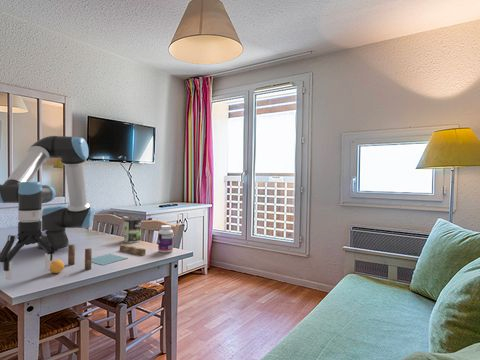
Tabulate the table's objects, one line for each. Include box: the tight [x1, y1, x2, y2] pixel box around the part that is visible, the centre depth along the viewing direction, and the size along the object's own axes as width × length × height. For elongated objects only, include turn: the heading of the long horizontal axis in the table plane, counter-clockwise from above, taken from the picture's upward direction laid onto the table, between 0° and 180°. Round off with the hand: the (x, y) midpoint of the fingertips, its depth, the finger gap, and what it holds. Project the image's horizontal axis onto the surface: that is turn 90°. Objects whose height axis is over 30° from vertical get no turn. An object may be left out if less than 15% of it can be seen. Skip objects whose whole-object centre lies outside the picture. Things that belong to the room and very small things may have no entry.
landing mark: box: [91, 253, 128, 266], centre depth 146 cm, size 14×14×1 cm
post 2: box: [84, 247, 93, 271], centre depth 131 cm, size 3×3×9 cm
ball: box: [49, 259, 65, 274], centre depth 125 cm, size 6×6×6 cm
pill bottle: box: [157, 224, 174, 254], centre depth 164 cm, size 8×8×14 cm
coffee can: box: [123, 217, 142, 244], centre depth 187 cm, size 10×10×14 cm
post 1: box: [67, 244, 76, 266], centre depth 137 cm, size 3×3×9 cm
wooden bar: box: [119, 244, 147, 256], centre depth 160 cm, size 18×2×3 cm, turn 61°
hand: (29, 273), depth 116 cm, fingers open, 13 cm apart
